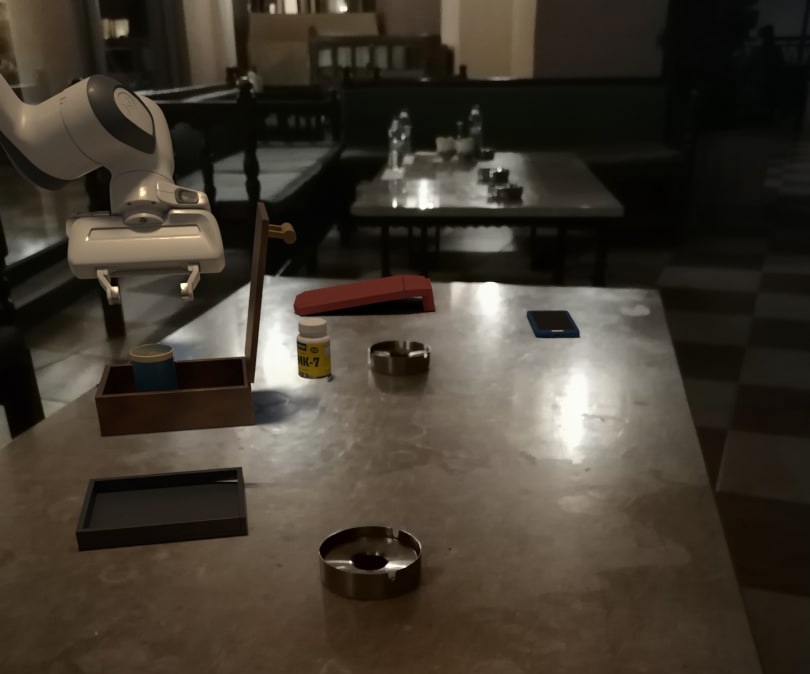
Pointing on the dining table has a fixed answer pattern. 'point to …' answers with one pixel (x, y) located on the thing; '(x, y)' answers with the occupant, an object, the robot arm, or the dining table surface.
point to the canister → (154, 368)
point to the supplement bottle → (313, 349)
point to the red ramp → (365, 294)
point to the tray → (162, 508)
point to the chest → (176, 399)
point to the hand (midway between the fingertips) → (151, 300)
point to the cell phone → (552, 323)
